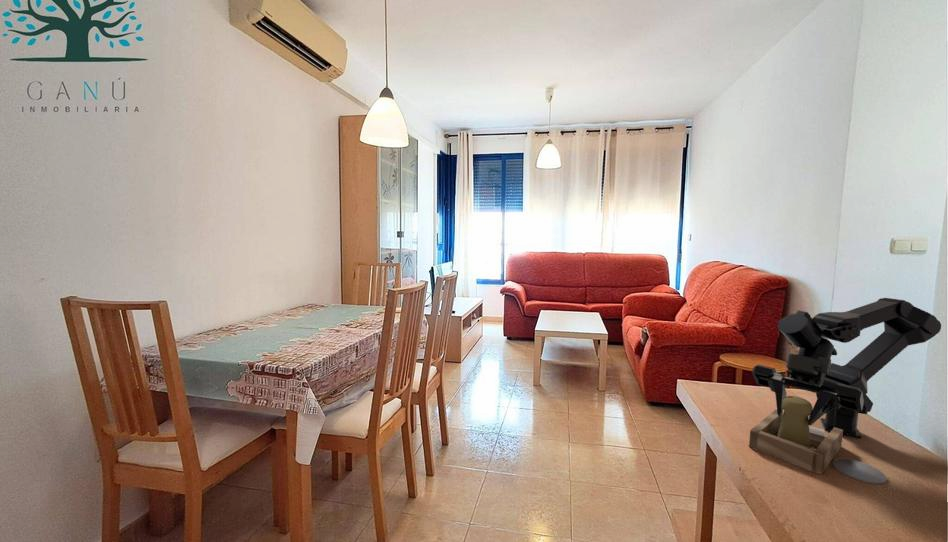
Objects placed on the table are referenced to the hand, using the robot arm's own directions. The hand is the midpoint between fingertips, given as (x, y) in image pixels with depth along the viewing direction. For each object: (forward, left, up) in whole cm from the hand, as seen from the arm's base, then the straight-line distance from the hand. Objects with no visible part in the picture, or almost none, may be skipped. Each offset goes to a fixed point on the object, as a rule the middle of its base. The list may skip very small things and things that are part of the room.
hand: (793, 419), depth 84 cm
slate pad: (+1, +11, -8) cm, 13 cm away
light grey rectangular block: (-9, +4, -8) cm, 12 cm away
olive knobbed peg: (-1, 0, -7) cm, 7 cm away
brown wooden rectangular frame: (-3, +1, -8) cm, 8 cm away
